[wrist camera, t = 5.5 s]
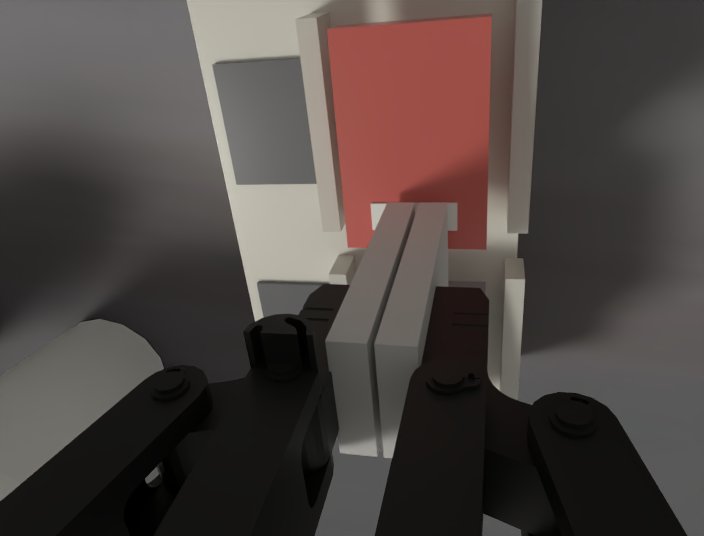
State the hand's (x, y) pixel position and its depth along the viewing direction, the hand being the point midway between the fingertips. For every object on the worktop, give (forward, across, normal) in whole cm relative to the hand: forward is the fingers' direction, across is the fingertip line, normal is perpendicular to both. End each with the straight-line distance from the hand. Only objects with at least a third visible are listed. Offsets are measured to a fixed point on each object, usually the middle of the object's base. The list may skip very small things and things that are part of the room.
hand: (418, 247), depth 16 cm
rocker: (+1, 0, +3) cm, 3 cm away
